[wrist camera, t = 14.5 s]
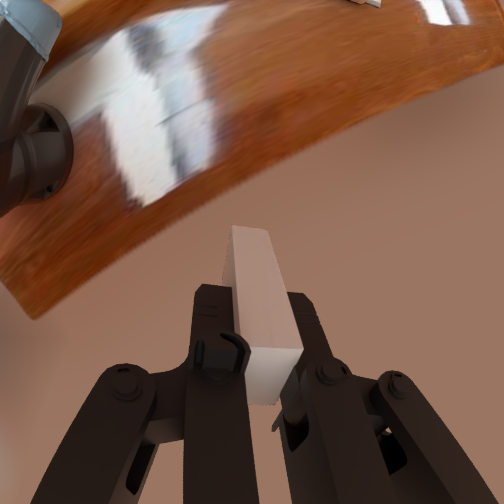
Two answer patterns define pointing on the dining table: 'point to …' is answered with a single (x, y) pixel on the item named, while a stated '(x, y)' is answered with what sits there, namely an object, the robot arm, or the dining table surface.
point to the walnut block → (359, 1)
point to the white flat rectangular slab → (374, 3)
